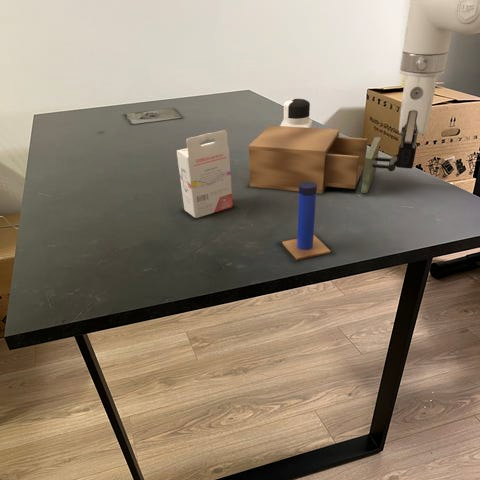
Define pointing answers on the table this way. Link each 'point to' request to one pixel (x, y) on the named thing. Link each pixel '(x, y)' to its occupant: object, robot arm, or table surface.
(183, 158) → the ink cartridge box
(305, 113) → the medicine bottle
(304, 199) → the marker
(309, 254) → the coaster
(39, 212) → the table surface
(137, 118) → the mousepad
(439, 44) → the robot arm
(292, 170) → the cabinet
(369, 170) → the drawer
